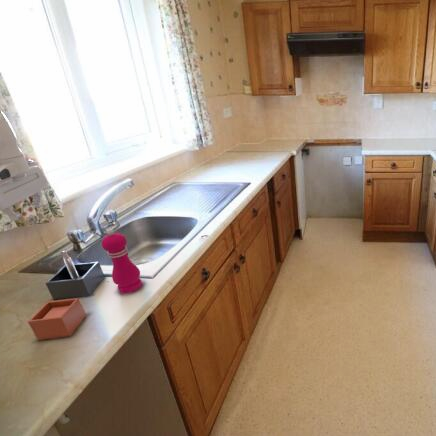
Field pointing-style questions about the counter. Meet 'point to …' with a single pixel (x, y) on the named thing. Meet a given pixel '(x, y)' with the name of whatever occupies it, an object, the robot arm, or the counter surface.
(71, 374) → the counter surface
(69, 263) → the screw
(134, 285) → the pepper mill
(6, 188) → the robot arm
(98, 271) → the grey bin
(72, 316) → the terracotta bin
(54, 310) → the terracotta block
